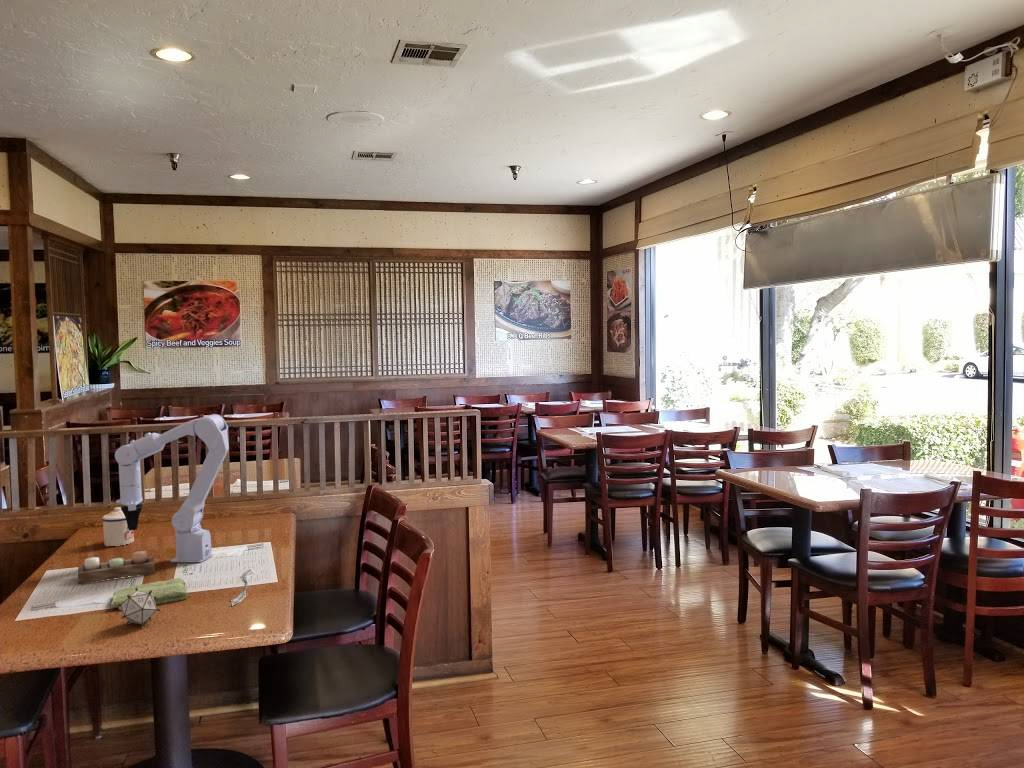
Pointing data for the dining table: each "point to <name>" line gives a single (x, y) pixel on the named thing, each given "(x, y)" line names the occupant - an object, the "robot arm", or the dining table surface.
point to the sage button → (116, 562)
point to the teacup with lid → (116, 529)
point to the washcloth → (154, 591)
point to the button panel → (115, 571)
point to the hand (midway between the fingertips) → (132, 529)
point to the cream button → (92, 563)
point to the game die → (139, 607)
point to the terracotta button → (139, 557)
